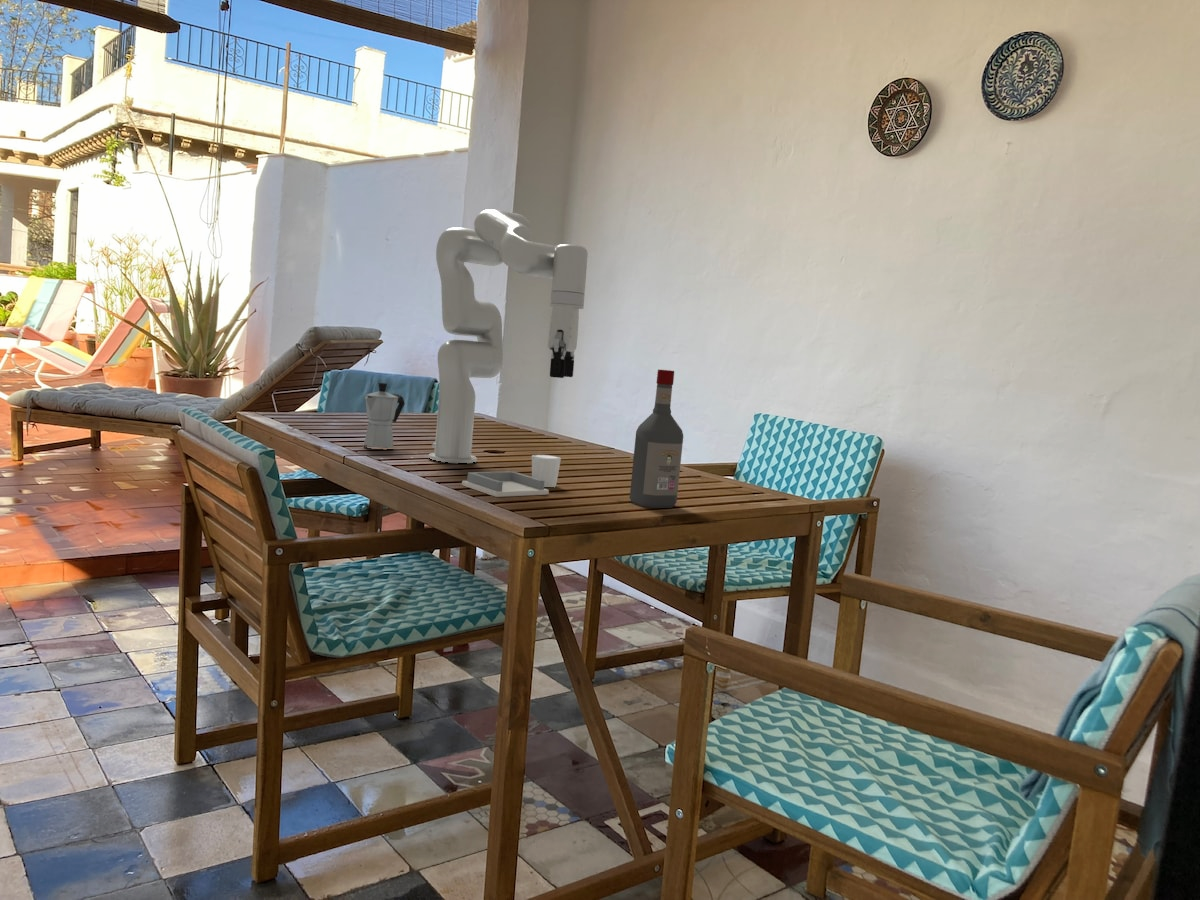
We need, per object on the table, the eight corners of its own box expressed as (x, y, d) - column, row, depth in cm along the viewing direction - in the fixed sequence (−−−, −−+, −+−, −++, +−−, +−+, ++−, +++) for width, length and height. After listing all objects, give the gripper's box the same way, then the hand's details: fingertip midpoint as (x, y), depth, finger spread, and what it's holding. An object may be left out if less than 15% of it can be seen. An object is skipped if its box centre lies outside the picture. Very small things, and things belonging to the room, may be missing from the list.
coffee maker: (373, 451, 251) (377, 384, 249) (350, 446, 255) (353, 380, 253) (412, 448, 263) (416, 384, 261) (389, 444, 268) (393, 381, 266)
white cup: (523, 483, 221) (525, 454, 220) (545, 482, 226) (547, 453, 225) (542, 489, 217) (545, 459, 216) (564, 487, 221) (567, 458, 221)
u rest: (461, 485, 212) (462, 471, 211) (513, 483, 221) (514, 470, 220) (495, 496, 201) (496, 483, 201) (548, 494, 210) (549, 481, 210)
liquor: (681, 508, 208) (695, 373, 205) (646, 508, 204) (660, 370, 200) (658, 499, 216) (671, 369, 213) (624, 500, 212) (637, 367, 208)
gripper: (559, 302, 220) (553, 375, 222) (542, 297, 203) (536, 376, 205) (590, 304, 219) (584, 377, 221) (576, 299, 202) (570, 379, 204)
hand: (561, 377), depth 213 cm, fingers open, 9 cm apart
